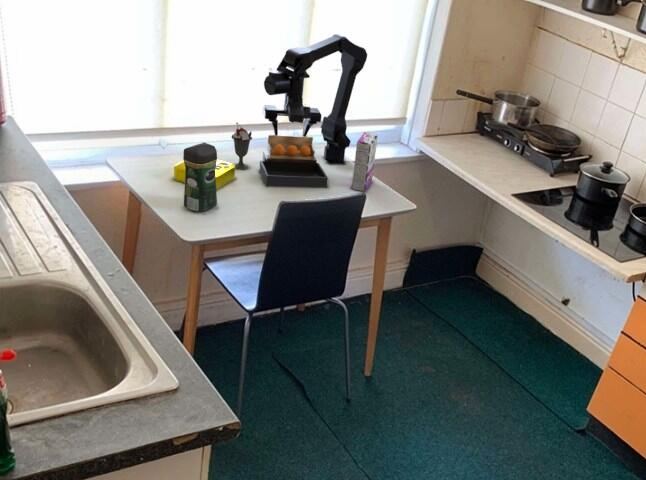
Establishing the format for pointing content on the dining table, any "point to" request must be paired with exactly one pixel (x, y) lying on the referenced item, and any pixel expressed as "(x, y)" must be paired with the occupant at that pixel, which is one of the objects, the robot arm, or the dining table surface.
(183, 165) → the yellow flat box
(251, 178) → the dining table surface
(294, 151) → the orange ball
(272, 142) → the wooden box
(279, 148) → the orange ball
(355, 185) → the candy bar box
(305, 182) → the dark grey tray
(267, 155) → the stand
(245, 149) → the sundae
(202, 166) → the coffee jar
